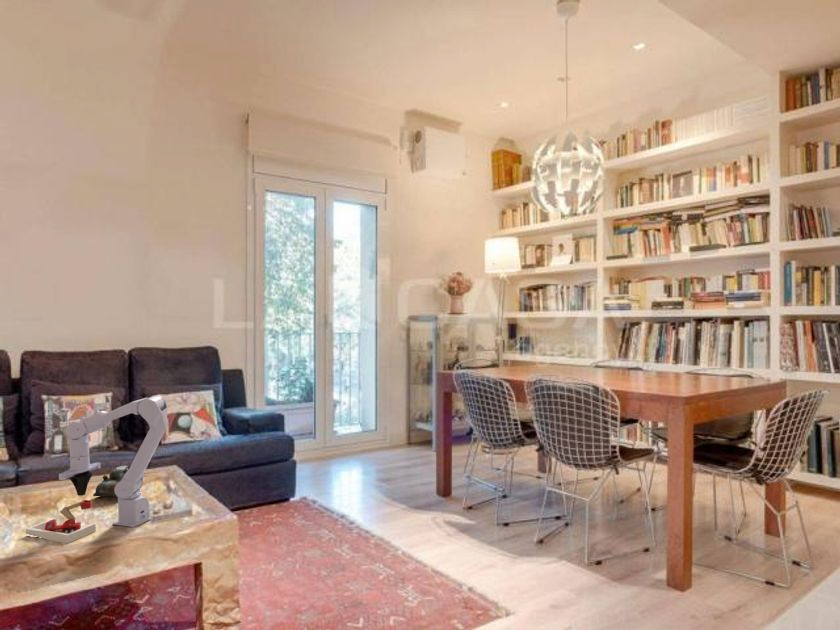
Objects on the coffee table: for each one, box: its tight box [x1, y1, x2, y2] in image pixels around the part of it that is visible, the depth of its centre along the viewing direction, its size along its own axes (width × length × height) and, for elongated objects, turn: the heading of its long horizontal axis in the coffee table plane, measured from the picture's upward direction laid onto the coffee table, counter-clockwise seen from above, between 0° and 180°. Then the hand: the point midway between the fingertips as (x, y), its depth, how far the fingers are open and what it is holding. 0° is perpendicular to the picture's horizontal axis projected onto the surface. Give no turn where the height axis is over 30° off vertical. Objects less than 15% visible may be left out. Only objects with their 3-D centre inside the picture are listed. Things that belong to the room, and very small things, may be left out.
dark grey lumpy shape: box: [92, 464, 131, 498], centre depth 231 cm, size 15×12×14 cm
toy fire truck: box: [45, 499, 93, 534], centre depth 195 cm, size 3×14×10 cm, turn 110°
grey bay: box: [25, 517, 97, 544], centre depth 193 cm, size 19×10×2 cm, turn 70°
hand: (81, 494), depth 201 cm, fingers closed
